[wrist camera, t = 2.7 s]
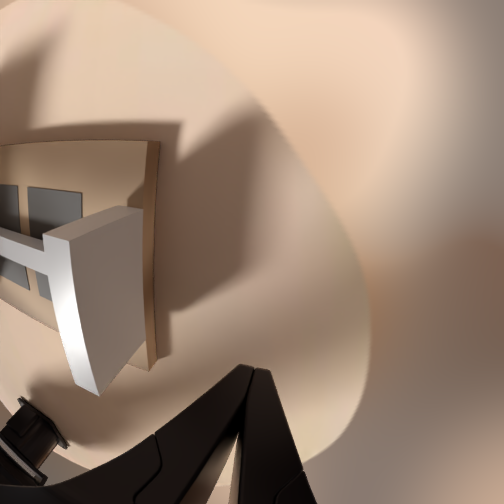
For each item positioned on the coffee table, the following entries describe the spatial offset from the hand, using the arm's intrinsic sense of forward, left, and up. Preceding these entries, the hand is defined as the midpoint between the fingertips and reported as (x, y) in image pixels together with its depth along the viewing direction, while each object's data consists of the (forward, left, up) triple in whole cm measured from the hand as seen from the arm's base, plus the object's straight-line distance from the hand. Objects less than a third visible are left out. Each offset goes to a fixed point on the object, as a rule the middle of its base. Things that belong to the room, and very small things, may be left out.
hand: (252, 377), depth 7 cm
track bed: (0, +18, -5) cm, 19 cm away
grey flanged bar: (0, +15, -3) cm, 16 cm away
